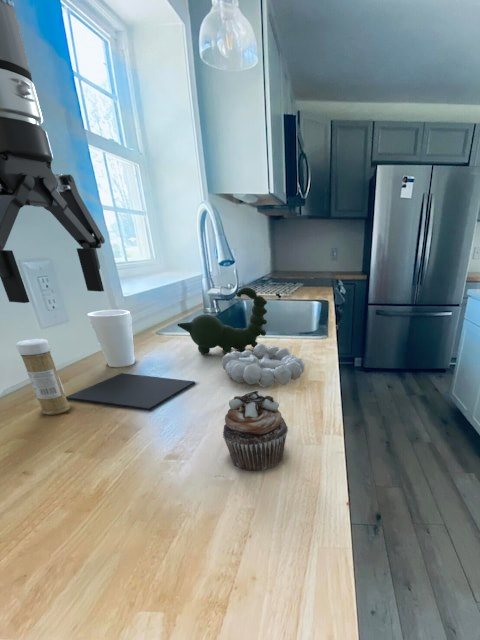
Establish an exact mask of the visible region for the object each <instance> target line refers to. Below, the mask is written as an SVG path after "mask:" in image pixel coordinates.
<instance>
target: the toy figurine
mask: <svg viewBox="0 0 480 640" xmlns="http://www.w3.org/2000/svg"><path fill="white" fill-rule="evenodd" d="M243 295H244V296H246V297H248V298H249V299H251V300H252V303H253V305H252V307H251V314H250V317H249V323H247V325H246V327H243V328H239V327H237V328H233V326H231V325H228V324H223V323H222V321H221V320H220V319H219V318H218V317H216V316H214V315H212V314H208V313H202V314H199V315H196V316H195V317H194V318H193V319H192V320H191V321H189V322H180V323H177V324H176V325H177V327H179V328H180V329H182V330H184V331H186V332H187V333H189V336H190V338H191V340H192V341H193V343H194V344H195V345H196V346H197V350H198V352H199V353H200V354H201V355H204V356H205V355H208V354H209V353H210V351H211V349H214V348H216V347H219V348H221V349H222V351H223V352H224V353H226V354H227V353H231V352H232V349H234V350H238V352H240V353H241V352H244V351H245V350H246V348H247V347H248V346H251V347H252V348H253V349H254V348H255V346H256V345H258V344H259V342H258V341H257V339H258V337H260V336H262V337H265V336H266V335H267V331H266V330H265V329H263V326H264V325H267V323H268V321H267V319H265V318H264V316H265V315H266V314H267V313H268V310H267V309H266V307H265V305H267V304H268V301H267V300H266V299H265V298H264V297H263V296H262V295H258V294H257V292H256V290H255V289H254V288H251V287H242V288H241V289H239V290H238V291H237V292H236V297H237V298H239V297H240V296H243Z"/></svg>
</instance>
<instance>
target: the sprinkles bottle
mask: <svg viewBox="0 0 480 640" xmlns="http://www.w3.org/2000/svg"><path fill="white" fill-rule="evenodd" d="M15 346H16V349H17V352H18V354H19V355H20V357H21V359H22V361H23V363H24V366H25V367H24V368H25V369H26V372H27V375H28V378H29V381H30V384H31V386H32V389H33V391H34V394H35V397H36V398H37V400H38V403H39V406H40V409H41V413H42V414H44V415H48V416H52V415H53V416H54V415H59V414H63V413H65V412H67V411H69V410H70V408H71V405H70V404H69V401H68V400H67V399H66V397H67V395H66V393H65V389H64V386H63V383H62V380H61V378H60V376H59V373H58V370H57V367H56V365H55V362H54V360H53V357H52V355H51V347H50V344H49V342H48V340H47V339H45V338H30V339H24V340H20V341H17V342H16V344H15Z"/></svg>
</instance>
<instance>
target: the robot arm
mask: <svg viewBox="0 0 480 640" xmlns="http://www.w3.org/2000/svg"><path fill="white" fill-rule="evenodd" d="M15 8H16V6H15V3H14V1H13V0H0V281H1V283H2V286H3V288H4V291H5V294H6V297H7V299H8V302H9V303H17V304H18V303H19V304H27V303H31V302H30V299H29V296H28V293H27V290H26V287H25V285H24V281H23V277H22V275H21V272H20V269H19V266H18V263H17V261H16V260H17V259H16V256H15V255H14V252H13V250H9V249H5V248H6V245H7V242H8V239H9V238H10V235H11V232H12V230H13V227H14V224H15V222H16V219H17V217H18V215H19V212H20V210H21V208H23V207H24V206H26V207H27V206H30V207H31V206H32V207H35V208H36V207H37V208H43V209H45V210H46V211H48V212H50V213H51V215H52V216H53V217H54V218H55V219H56V220H57V221H58V222H59V224H60V225H61V226H62V227H63V228H64V229H65V231H66V232H68V233H69V235H70V236H71V237H72V238H73V239H74V240H75V241H76V243H77V245H79V246H80V247H79V248H78V247H76V252H77V256H78V259H79V263H80V267H81V268H80V269H81V271H82V275H83V279H84V282H85V287H86V289H87V292H105V289H104V284H103V281H102V277H101V273H100V270H101V264H100V259H99V255H98V251H97V249H102V245H103V244H105V242H106V239H105V238H104V236H103V234H102V232H101V230H100V228H99V227H98V225H97V223H96V221H95V220H94V218H93V216H92V214H91V213H90V211H89V209H88V207H87V205H86V204H85V202H84V200H83V198H82V196H81V195H80V193H79V191H78V188H77V185H76V181H75V179H74V177H73V175H72V174H69V173H68V174H66V173H65V174H61V173H60V174H55V172H54V171H53V169H52V163H53V161H54V156H53V151H52V148H51V144H50V140H49V136H48V133H47V130H45V129H44V127H42V125H41V124H42V123H43V122H44V119H43V115H42V111H41V107H40V103H39V99H38V96H37V92H36V89H35V84H34V82H33V78H32V72H31V69H30V64H29V60H28V56H27V53H26V48H25V45H24V41H23V37H22V33H21V29H20V25H19V21H18V17H17V13H16V9H15Z"/></svg>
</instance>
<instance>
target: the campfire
mask: <svg viewBox="0 0 480 640" xmlns="http://www.w3.org/2000/svg"><path fill="white" fill-rule="evenodd" d="M252 350H253V351H251V350H247V349H245V351H244V352H240V351H239V350H238V351H237V350H235V351H234V350H233V351H232V350H231V351H230V352H228V353H226V354H224V355H223V357H222V358H221V367H222V370H224V371H225V374H227V375H228V376H229V377H230V378H232V380H234V381H235V382H237V383H238V384H239V383H243V382H246V383H247V384H249V385H255V384H257V383H259V384H260V386H262V387H263V388H270V387H272V386H273V385H274V384H275V383H276V382H277V384H279V385H280V386H287V385H288V384H289V383H290V381H291V380H294V381H295V380H297V379H300V378H301V376H302V374H303V373H304V371H305V366H306V364H305V361H304V360H302V359H301V358H298V357H297V356H295V355H293V354H292V352H291V350H290V349H289V348H287V347H285V348H284V347H283V348H280V347H279V346H276V345H273V346H269V347H268V346H267V345H266V344H264V343H258V345H256V346H255V348H254V347H253V349H252Z"/></svg>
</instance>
